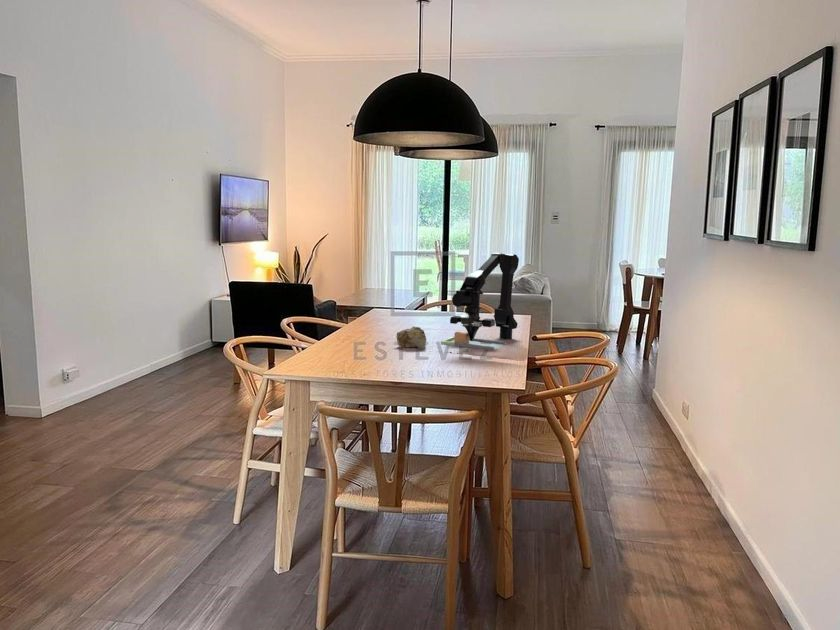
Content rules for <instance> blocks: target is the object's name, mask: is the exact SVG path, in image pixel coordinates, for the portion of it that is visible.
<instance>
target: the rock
mask: <svg viewBox="0 0 840 630" xmlns="http://www.w3.org/2000/svg"><path fill="white" fill-rule="evenodd" d="M396 342H397V345H398V347H402V348H413V347H414V348H418V349H423V350H424V349H426V348H427V346H426V342H427V336H426V333H425V330H424V329H422V328H421V327H418V326H412V327H411V328H406V329H403V330H400V331H398V332H396Z"/></svg>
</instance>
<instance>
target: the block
mask: <svg viewBox="0 0 840 630" xmlns="http://www.w3.org/2000/svg"><path fill="white" fill-rule="evenodd" d="M453 336H454V342H456V343H465V344H467V343H469V335H468V332H467V331H463V330H462V331H461V330H458V331H456V332H454V333H453Z"/></svg>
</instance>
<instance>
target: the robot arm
mask: <svg viewBox="0 0 840 630" xmlns="http://www.w3.org/2000/svg"><path fill="white" fill-rule="evenodd" d="M519 261H520V259H519V257H518V255H517V254H513V253H502V252H492V253H491V255H490V257H488V259H487V260H486V261H485V262H483V264H482V265H481V266H480V267H479V268H478V269H477V270H476V271H473V272H471V273H469V274H467V276H466V277H465V278H464V281H463V283H462V285H461V286H460V289H459V290H458V289H457V290H456V292H455V293H454V294H453V296H452V298H451V302H452V305H453V306H454V307H456V308H458V307H464V312H463V313H462V314H461V315H453V316H451V317H450V319H449V323H450V324H454V325H457V324H458V323H461V324H462V325H461V326H462V327H463V328H465V330H466V332H468V335H469V338H470V341H473V339H474V338H476V334H477V332H478V330H479V328H481V327H484V328H485V327H486V328H492V327H494V326H495V327H498V328H499V339H503V340H515V338H513V330H515V329H517V328H518V322H517V321H516V319H515V318H514V316H515V315H514V314H515V313H514V309H513V308H512V306H511V305H512V304H511V303H512V294H513V293H512V292H513V285H514V284H513V283H514V274H515V273H516V271H517V270H518V267H519ZM497 267H499V269H500V271H501V274H502V275H501V285H500V298H499V299H500V300H499V304H498V307H497V308H494V312H493V318H484V319H481V316H480V310H481V307H480V305H481V304H480V302H481V300H480V299H481V298H480V297H481V295H484V292H483V291H482V290H481V289H482V288H483V287H484V286H485V284H486V279H487V277H488V276H489V275H491V273H492V272H493V271H495V269H496V268H497Z"/></svg>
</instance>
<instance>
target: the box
mask: <svg viewBox="0 0 840 630" xmlns="http://www.w3.org/2000/svg"><path fill="white" fill-rule="evenodd" d="M486 343H487V344H486ZM488 343H490V344H488ZM440 345H449V346H457V347H464V348H471V349H473V348H474V349H482V350H489V351H495V350H497V349H498V348H501V347H502V346H504V345H506V341H505V340H504V341H503V340H493V339H485V338H478V337H477V338H476V337H474V339H473V341H470V338H469V343H467V344H465V343H456V342H454V335H453V336H451V337H449V338H446V339H443V340H441V341H440Z"/></svg>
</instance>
